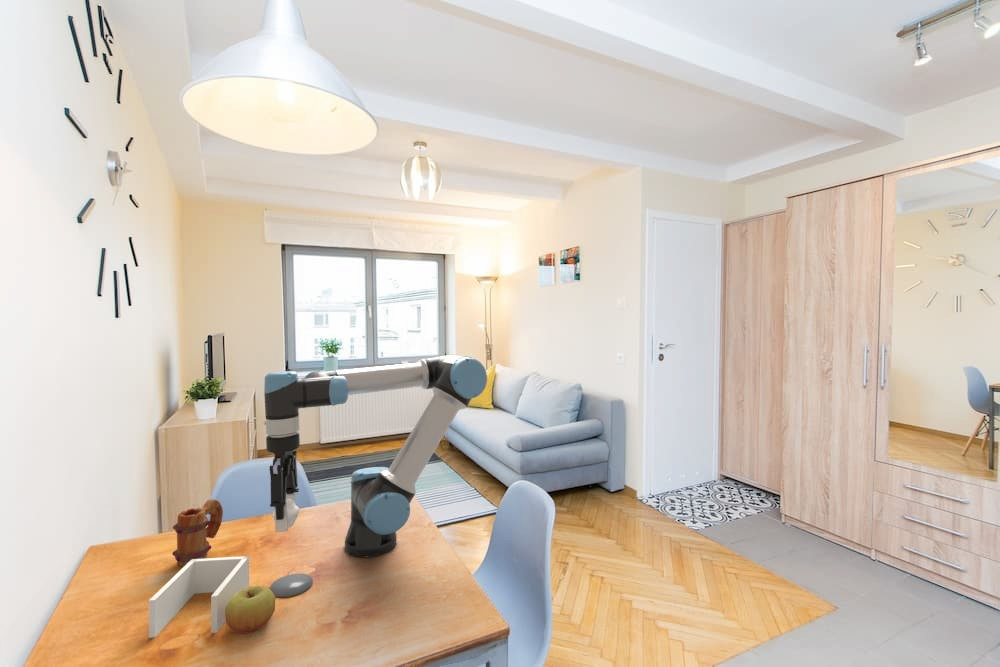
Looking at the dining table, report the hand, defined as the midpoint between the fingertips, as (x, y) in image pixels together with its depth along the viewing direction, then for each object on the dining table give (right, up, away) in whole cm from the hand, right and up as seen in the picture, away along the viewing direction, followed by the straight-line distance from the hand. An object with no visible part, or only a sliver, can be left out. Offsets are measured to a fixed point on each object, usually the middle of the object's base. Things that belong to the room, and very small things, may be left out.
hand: (286, 524), depth 115 cm
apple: (-1, -17, -14) cm, 22 cm away
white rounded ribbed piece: (0, -1, 0) cm, 1 cm away
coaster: (+1, -16, +1) cm, 16 cm away
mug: (-31, -16, +15) cm, 38 cm away
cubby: (-15, -16, -9) cm, 24 cm away
